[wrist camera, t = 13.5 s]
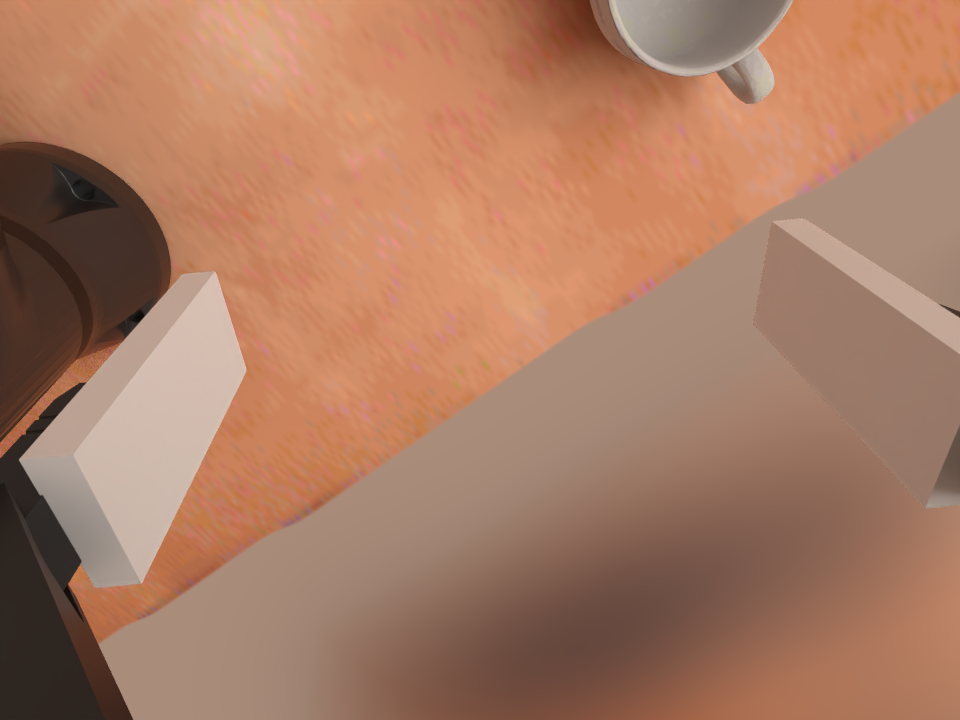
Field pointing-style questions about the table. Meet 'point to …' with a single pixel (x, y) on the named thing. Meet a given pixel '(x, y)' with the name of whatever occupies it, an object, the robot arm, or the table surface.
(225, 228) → the table surface
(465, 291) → the table surface
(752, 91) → the teacup
